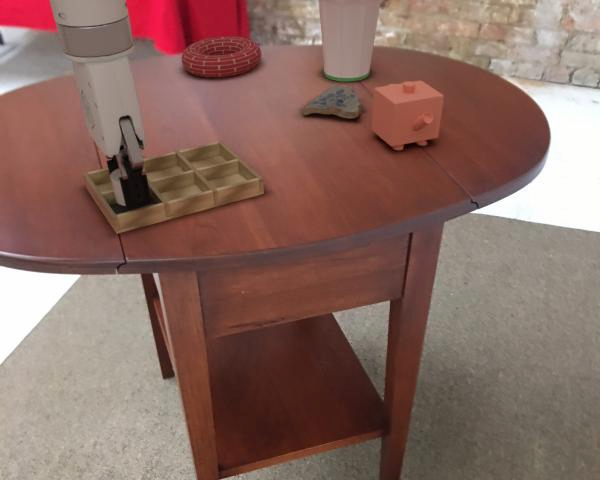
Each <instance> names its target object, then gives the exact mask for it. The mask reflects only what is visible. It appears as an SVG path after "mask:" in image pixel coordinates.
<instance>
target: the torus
mask: <svg viewBox="0 0 600 480" xmlns="http://www.w3.org/2000/svg"><path fill="white" fill-rule="evenodd" d="M261 59H262V50H261V47H260V46H259V44H258V43H256V42H255V41H254V40H252V39H249V38H246V37H242V36H216V37H209V38H204V39H201V40H198V41H195V42H193V43H191V44H190V45H188V46H187V47H186V48H185V49H184V50H183V52H182V55H181V65H182V66H183V68H184V69H185V70H186V71H187V72H188V73H190V74H191V75H195V76H198V77H203V78H228V77H234V76H237V75H241V74H244V73H247V72H249V71H251V70H252V69H254V68H255V67H256V66H257V65H258V64H259V63H260V61H261Z"/></svg>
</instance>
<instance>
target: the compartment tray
mask: <svg viewBox="0 0 600 480" xmlns="http://www.w3.org/2000/svg"><path fill="white" fill-rule="evenodd" d="M143 159H144V167H145V171H146V174H147V179H148V184H149V188H150V193H151V200H152V202H151V204H148V205H145V206H141V207H137V208H133V209H128V208H127V207H126V206H123V205H120V204H118V203H117V202H116V199H115V195H114V191H113V187H112V183H111V179H110V174H109V170H108V167H104V168H101V169H97V170H91V171H87V172H83V173H82V176H83V179H84V184H85V187H86V190H87V191H88V193H89V194H90V196H91V197H92V199H93V200H94V202H95V204H96V205H97V206H98V208H99V210H100V211H101V212H102V214H103V216H104V218H105V219H106V220H107V221H108V223H109V225H110V226H111V228H112V229H113V231H114V232H115V234H116V235H118V234H122V233H125V232H129V231H133V230H137V229H141V228H143V227H148V226H151V225H155V224H159V223H162V222H167V221H169V220H174V219H177V218H181V217H185V216H188V215H191V214H195V213H199V212H202V211H206V210H210V209H214V208H217V207H221V206H225V205H228V204H232V203H235V202H240V201H243V200H247V199H251V198H255V197H258V196H261V195H262V196H263V195H264V194H265V188H264V178H263V177H262V176H261V175H260V174H259V173H257V171H256V170H254V169H253V168H252V167H251V166H250V165H249V164H248V163H247V162H245V161H244V159H242V158H241V157H240V156H239V155H238V154H236V152H235V151H233V150H232V149H231V148H230V147H229V146H228V145H227V144H226V143H225V142H223V141H222V140H219V141H214V142H211V143H205V144H202V145H196V146H193V147H189V148H185V149H179V150H177V151H172V152H169V153H163V154H160V155H156V156H151V157H147V158H143Z"/></svg>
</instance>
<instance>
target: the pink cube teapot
mask: <svg viewBox="0 0 600 480" xmlns="http://www.w3.org/2000/svg"><path fill="white" fill-rule="evenodd" d="M444 99H445V96H444V94H442V93H441V92H439V91H438V90H436V89H435V88H433V87H432V86H431V85H429V84H427V83H426V82H424V81H423V80H420V79H419V80H413V81H411V80H408V81H403V82H402V83H401V82H400V83H398V84H397V83H389V84H386V85H384V86H383V85H382V86H377V87H374V88H373V98H372V114H371V131H372V132H374V134H375V135H377V136H378V137H379V138H380V139H381V140H383V141H384V142H385V143H386V144H387V145H389V146H390V147H391V148H392V149H393V150H395V151H402V150H404V147H405V145H407V144H412V143H415V144H416V145H417V146H422V147H423V146H426V145H428V141H429V140H433V139H438V138H439V134H440V128H441V121H442V120H441V119H442V113H443V106H444Z"/></svg>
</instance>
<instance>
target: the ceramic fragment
mask: <svg viewBox="0 0 600 480" xmlns="http://www.w3.org/2000/svg"><path fill="white" fill-rule="evenodd" d="M362 109H363V108H362V103H361V102H360V101H359V99H358V96H357V93H356V91H355V89H354V87H352V86H344V85H341V84H338V85H332V86H329V87H328V88H327V89H325V90H324V91H322V92H321V93H320V94H319V95H317V96H316V97H315V98H314V99H312V100H311V102H309V103H308V104H307V105H306V106H305V107H304V108H303V110H302V115H303V116H308V115H311V114H321V115H335V116H337V117H340V118H342V119H343V118H344V119H356V118H358V117H360V116H361V113H362Z"/></svg>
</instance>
